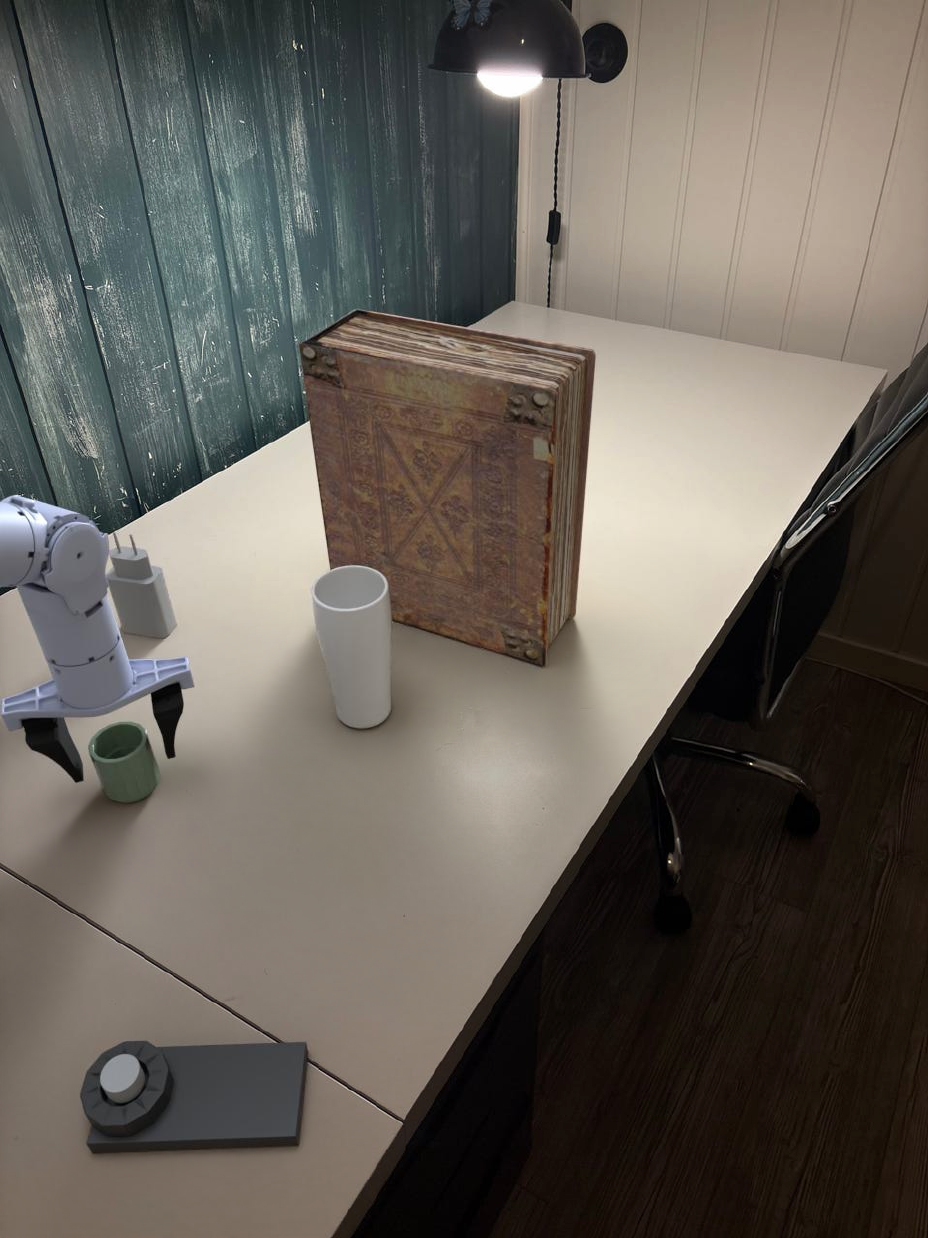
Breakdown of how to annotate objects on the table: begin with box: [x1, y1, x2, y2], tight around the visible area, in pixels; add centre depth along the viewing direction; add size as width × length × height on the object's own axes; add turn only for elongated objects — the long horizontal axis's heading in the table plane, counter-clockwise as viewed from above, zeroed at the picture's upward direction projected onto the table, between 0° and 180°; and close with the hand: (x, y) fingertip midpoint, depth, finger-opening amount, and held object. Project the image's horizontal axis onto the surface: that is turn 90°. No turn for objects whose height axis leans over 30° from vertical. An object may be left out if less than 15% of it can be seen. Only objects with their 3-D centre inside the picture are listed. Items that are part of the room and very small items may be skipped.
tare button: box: [100, 1054, 145, 1103], centre depth 58 cm, size 2×2×2 cm
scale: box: [79, 1040, 309, 1154], centre depth 59 cm, size 14×6×3 cm, turn 92°
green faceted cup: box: [87, 720, 161, 804], centre depth 80 cm, size 5×5×6 cm
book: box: [298, 308, 597, 668], centre depth 91 cm, size 25×9×30 cm, turn 63°
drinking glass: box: [310, 565, 393, 729], centre depth 83 cm, size 7×7×15 cm
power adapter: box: [106, 531, 178, 639], centre depth 95 cm, size 3×5×12 cm, turn 76°
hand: (125, 762), depth 80 cm, fingers open, 7 cm apart
